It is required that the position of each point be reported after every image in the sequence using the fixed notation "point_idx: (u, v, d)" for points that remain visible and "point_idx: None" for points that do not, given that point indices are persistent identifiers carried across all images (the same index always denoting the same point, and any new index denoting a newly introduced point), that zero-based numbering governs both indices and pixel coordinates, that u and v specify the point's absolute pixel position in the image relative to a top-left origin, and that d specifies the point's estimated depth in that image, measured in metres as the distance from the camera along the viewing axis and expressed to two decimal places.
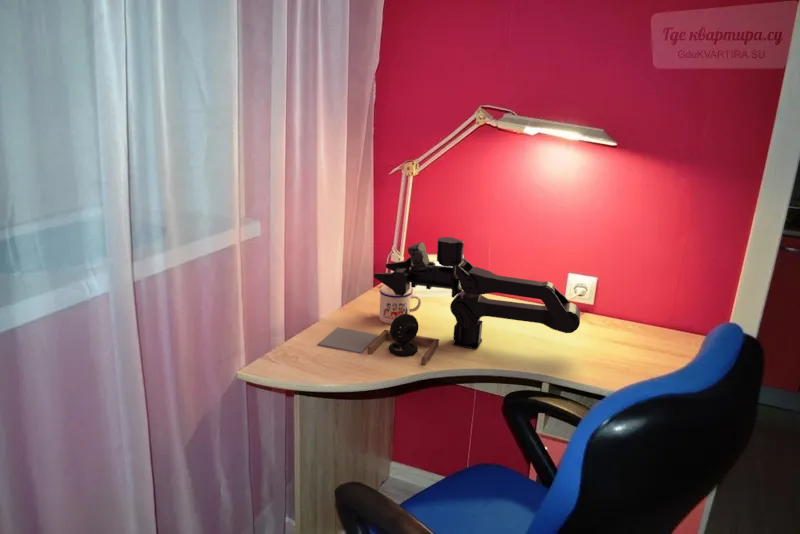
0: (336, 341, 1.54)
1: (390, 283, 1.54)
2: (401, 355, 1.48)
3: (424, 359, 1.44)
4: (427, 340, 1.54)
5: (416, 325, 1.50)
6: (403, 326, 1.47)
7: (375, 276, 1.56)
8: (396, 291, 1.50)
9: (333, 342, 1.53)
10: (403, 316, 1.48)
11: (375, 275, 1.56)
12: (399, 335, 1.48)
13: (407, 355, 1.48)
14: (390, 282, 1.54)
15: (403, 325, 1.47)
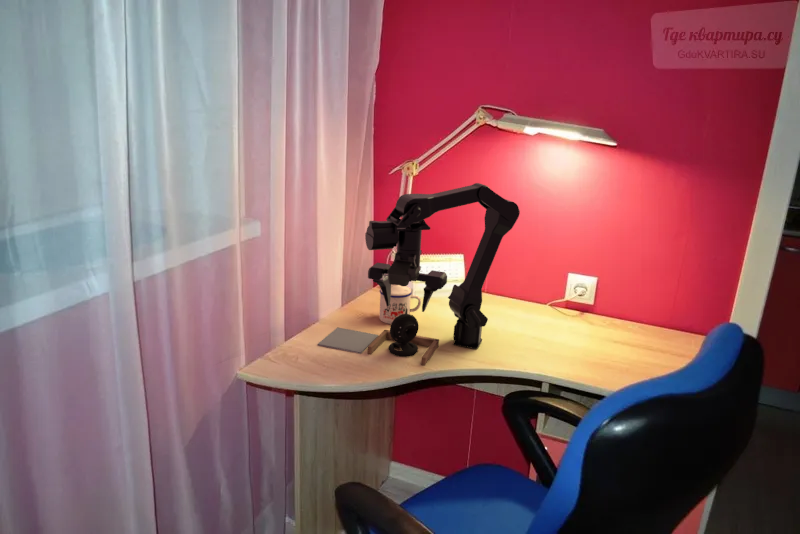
0: (336, 341, 1.54)
1: (431, 291, 1.46)
2: (401, 355, 1.48)
3: (424, 359, 1.44)
4: (427, 340, 1.54)
5: (416, 325, 1.50)
6: (403, 326, 1.47)
7: (424, 309, 1.47)
8: (446, 282, 1.45)
9: (333, 342, 1.53)
10: (403, 316, 1.48)
11: (424, 310, 1.46)
12: (399, 335, 1.48)
13: (407, 355, 1.48)
14: (430, 291, 1.46)
15: (403, 325, 1.47)
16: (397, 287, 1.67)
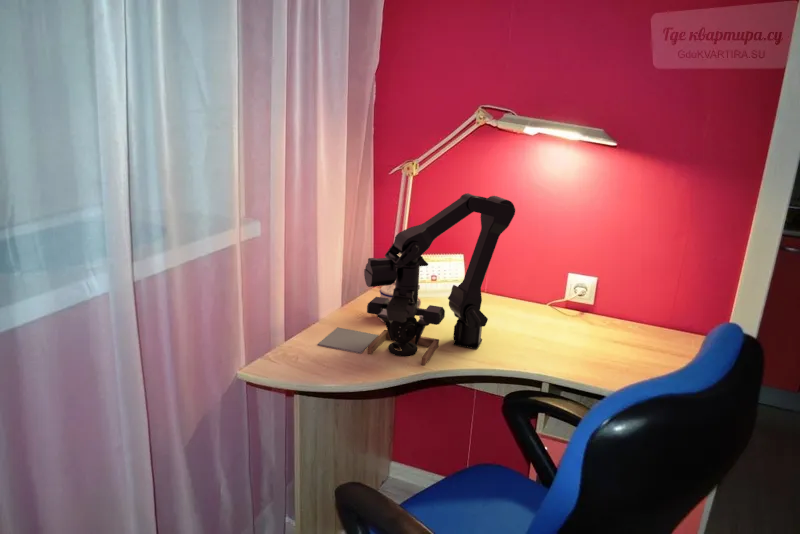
0: (336, 341, 1.54)
1: None
2: (401, 355, 1.48)
3: (424, 359, 1.44)
4: (427, 340, 1.54)
5: (416, 325, 1.50)
6: (403, 326, 1.47)
7: (417, 342, 1.50)
8: (443, 316, 1.47)
9: (333, 342, 1.53)
10: None
11: (417, 342, 1.49)
12: (399, 335, 1.48)
13: (407, 355, 1.48)
14: None
15: (402, 324, 1.47)
16: None
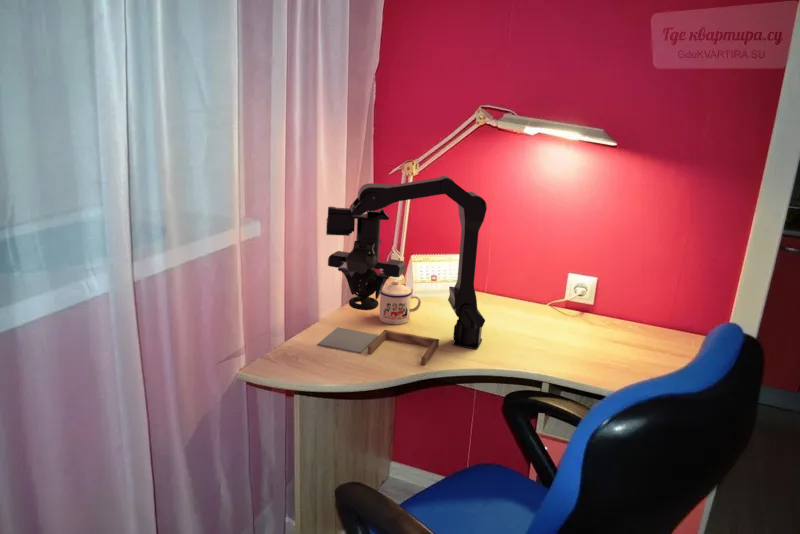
0: (336, 341, 1.54)
1: (385, 279, 1.49)
2: (361, 308, 1.48)
3: (424, 359, 1.44)
4: (427, 340, 1.54)
5: None
6: (363, 279, 1.47)
7: (377, 296, 1.49)
8: (404, 270, 1.47)
9: (333, 342, 1.53)
10: None
11: (377, 297, 1.49)
12: (359, 288, 1.47)
13: (367, 308, 1.48)
14: (384, 279, 1.49)
15: (363, 278, 1.47)
16: (397, 287, 1.67)
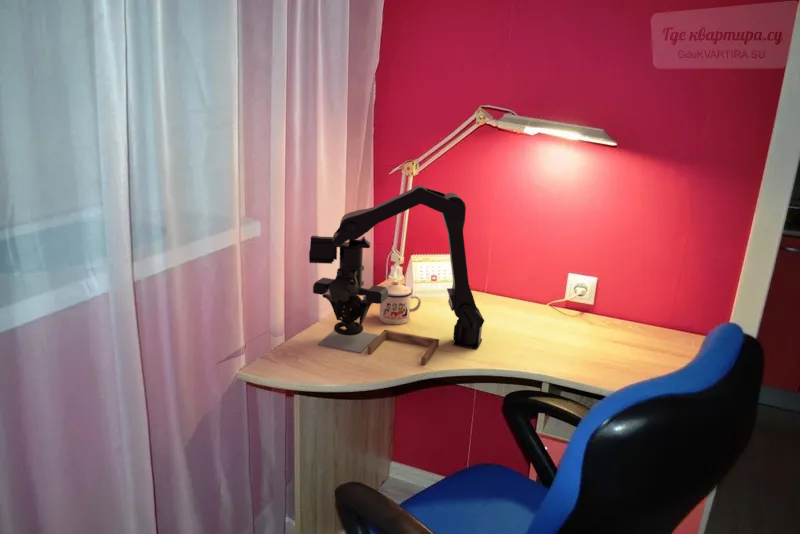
0: (336, 341, 1.54)
1: (368, 304, 1.52)
2: (345, 334, 1.51)
3: (424, 359, 1.44)
4: (427, 340, 1.54)
5: None
6: (347, 305, 1.51)
7: (361, 322, 1.53)
8: (387, 296, 1.51)
9: (333, 342, 1.53)
10: None
11: (362, 322, 1.53)
12: (343, 314, 1.51)
13: (351, 334, 1.52)
14: (367, 305, 1.52)
15: (346, 304, 1.51)
16: (397, 287, 1.67)
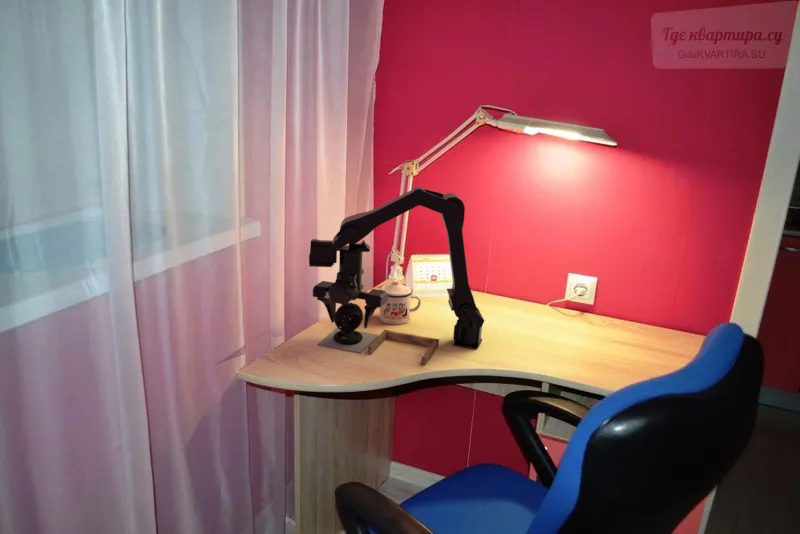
0: None
1: (373, 309, 1.52)
2: (345, 343, 1.52)
3: (424, 359, 1.44)
4: (427, 340, 1.54)
5: (360, 314, 1.54)
6: (347, 315, 1.51)
7: (366, 326, 1.53)
8: (386, 300, 1.51)
9: (333, 342, 1.53)
10: (347, 305, 1.52)
11: (366, 326, 1.53)
12: (343, 323, 1.52)
13: (351, 343, 1.52)
14: (372, 309, 1.52)
15: (346, 313, 1.51)
16: (397, 287, 1.67)
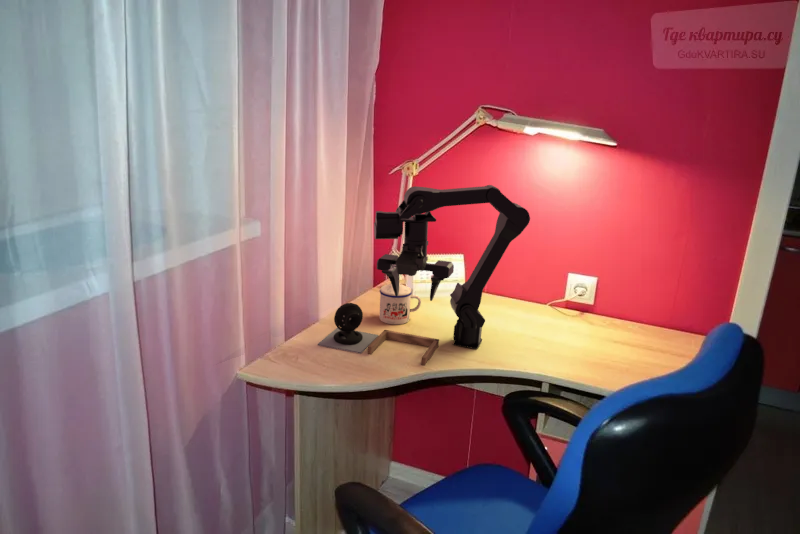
0: None
1: (439, 280, 1.50)
2: (345, 343, 1.52)
3: (424, 359, 1.44)
4: (427, 340, 1.54)
5: (360, 314, 1.54)
6: (347, 315, 1.51)
7: (431, 298, 1.51)
8: (452, 271, 1.49)
9: (333, 342, 1.53)
10: (347, 305, 1.52)
11: (432, 299, 1.50)
12: (343, 323, 1.52)
13: (351, 343, 1.52)
14: None
15: (346, 313, 1.51)
16: None
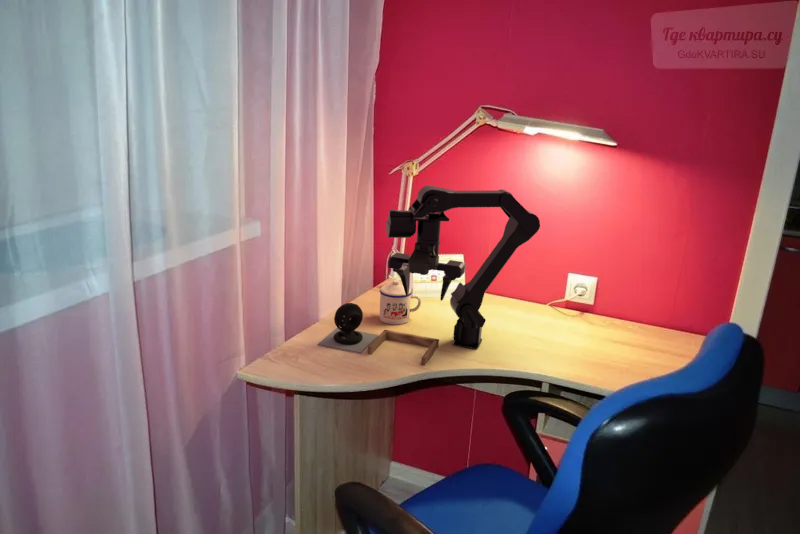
0: None
1: (449, 280, 1.50)
2: (345, 343, 1.52)
3: (424, 359, 1.44)
4: (427, 340, 1.54)
5: (360, 314, 1.54)
6: (347, 315, 1.51)
7: None
8: (464, 271, 1.49)
9: (333, 342, 1.53)
10: (347, 305, 1.52)
11: (442, 298, 1.50)
12: (343, 323, 1.52)
13: (351, 343, 1.52)
14: None
15: (346, 313, 1.51)
16: (397, 287, 1.67)
